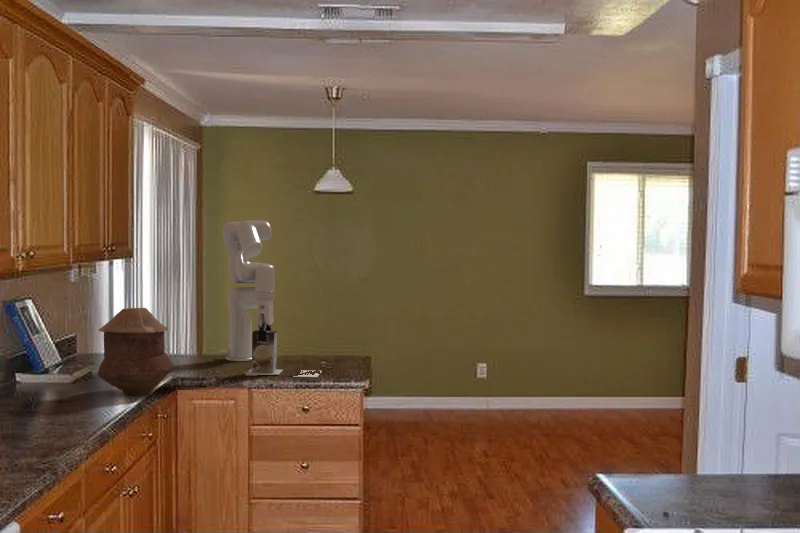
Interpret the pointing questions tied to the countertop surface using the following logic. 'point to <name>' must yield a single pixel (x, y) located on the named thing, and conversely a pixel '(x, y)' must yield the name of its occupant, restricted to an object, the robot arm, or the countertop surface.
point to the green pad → (263, 372)
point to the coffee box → (264, 352)
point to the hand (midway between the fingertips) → (264, 338)
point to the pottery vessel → (134, 352)
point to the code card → (308, 374)
